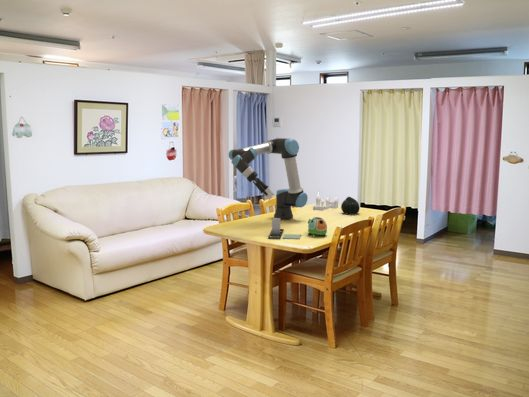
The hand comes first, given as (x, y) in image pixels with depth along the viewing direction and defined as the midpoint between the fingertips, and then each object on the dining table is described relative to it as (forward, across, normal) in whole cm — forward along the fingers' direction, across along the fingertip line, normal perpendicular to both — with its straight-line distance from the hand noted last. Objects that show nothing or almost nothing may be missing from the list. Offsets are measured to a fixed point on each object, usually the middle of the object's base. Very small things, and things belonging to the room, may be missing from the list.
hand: (272, 197), depth 332 cm
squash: (+58, -82, +24) cm, 103 cm away
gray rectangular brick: (+20, +4, -15) cm, 25 cm away
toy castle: (+44, -103, +10) cm, 112 cm away
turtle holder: (+39, +1, +4) cm, 39 cm away
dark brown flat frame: (+20, +4, -15) cm, 25 cm away
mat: (+28, +10, -7) cm, 30 cm away
